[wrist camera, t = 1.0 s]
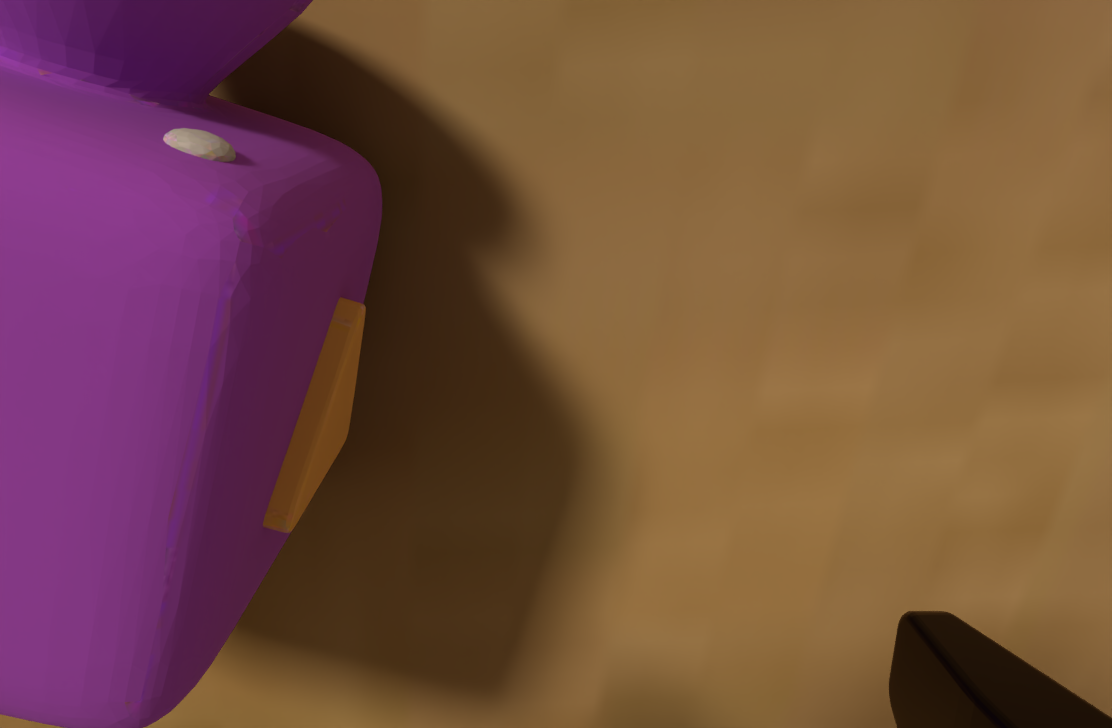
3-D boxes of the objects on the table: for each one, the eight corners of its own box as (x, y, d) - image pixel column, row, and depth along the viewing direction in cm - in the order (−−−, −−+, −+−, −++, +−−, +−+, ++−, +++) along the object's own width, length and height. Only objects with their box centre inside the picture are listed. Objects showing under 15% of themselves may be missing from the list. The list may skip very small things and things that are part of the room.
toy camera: (428, -79, 18) (278, -279, 8) (393, 503, 22) (270, 824, 12) (-99, -145, 17) (-916, -440, 8) (-30, 461, 21) (-497, 759, 12)
